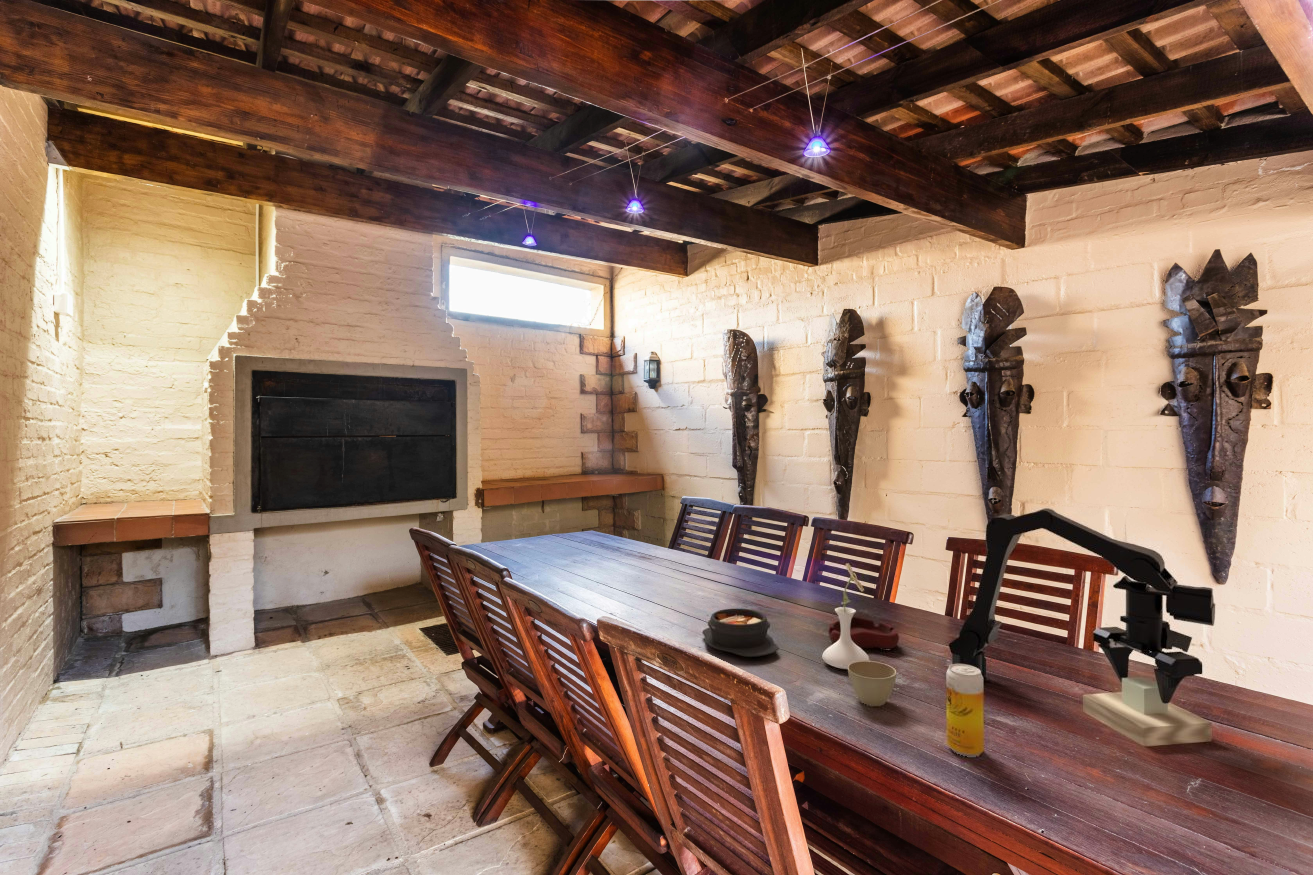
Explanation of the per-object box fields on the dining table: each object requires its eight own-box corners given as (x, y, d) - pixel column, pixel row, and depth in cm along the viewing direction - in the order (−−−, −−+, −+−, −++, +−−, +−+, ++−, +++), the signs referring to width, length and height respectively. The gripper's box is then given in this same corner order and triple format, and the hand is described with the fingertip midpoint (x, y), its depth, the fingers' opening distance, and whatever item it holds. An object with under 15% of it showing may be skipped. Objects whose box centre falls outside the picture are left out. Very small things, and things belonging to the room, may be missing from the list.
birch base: (1143, 748, 113) (1143, 727, 113) (1083, 713, 127) (1082, 694, 127) (1211, 743, 115) (1211, 722, 114) (1144, 709, 128) (1144, 690, 128)
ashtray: (885, 633, 176) (885, 616, 176) (902, 654, 160) (902, 635, 160) (822, 632, 178) (822, 615, 178) (832, 653, 162) (832, 634, 162)
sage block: (1144, 714, 118) (1144, 688, 118) (1121, 702, 123) (1121, 677, 123) (1167, 712, 119) (1167, 686, 118) (1144, 701, 124) (1144, 676, 123)
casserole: (687, 638, 174) (686, 608, 174) (741, 627, 182) (741, 599, 182) (735, 669, 152) (735, 635, 152) (795, 655, 160) (795, 623, 160)
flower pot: (895, 694, 136) (895, 662, 136) (897, 715, 126) (897, 680, 126) (848, 689, 139) (848, 657, 139) (847, 708, 130) (846, 675, 130)
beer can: (940, 742, 116) (939, 663, 115) (970, 740, 116) (970, 661, 116) (958, 759, 109) (958, 676, 109) (991, 757, 110) (990, 674, 110)
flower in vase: (864, 677, 145) (863, 572, 145) (816, 668, 151) (815, 567, 151) (875, 659, 157) (874, 561, 156) (830, 651, 162) (829, 557, 162)
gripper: (1229, 627, 112) (1229, 711, 112) (1139, 598, 130) (1139, 671, 131) (1174, 630, 111) (1174, 715, 111) (1091, 601, 129) (1091, 674, 130)
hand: (1143, 692), depth 121 cm, fingers open, 9 cm apart
